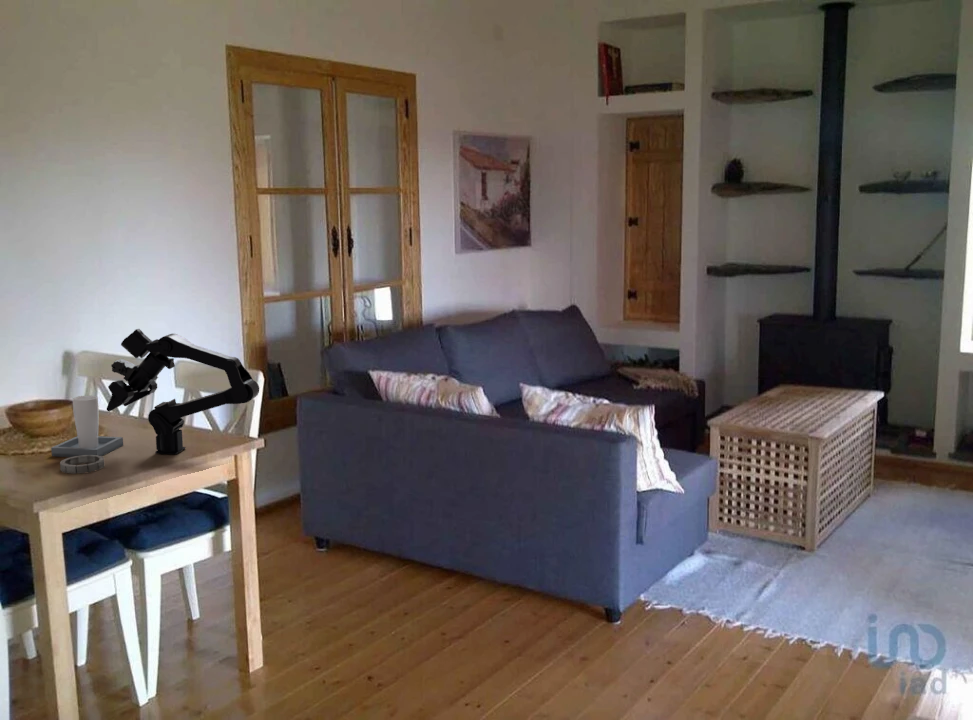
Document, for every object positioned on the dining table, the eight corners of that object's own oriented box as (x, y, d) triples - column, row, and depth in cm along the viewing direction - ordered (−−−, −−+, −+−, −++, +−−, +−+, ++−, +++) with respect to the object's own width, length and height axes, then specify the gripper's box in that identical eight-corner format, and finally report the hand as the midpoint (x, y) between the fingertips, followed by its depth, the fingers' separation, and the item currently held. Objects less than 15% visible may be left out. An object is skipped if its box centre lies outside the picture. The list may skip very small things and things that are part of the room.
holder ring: (112, 462, 263) (111, 455, 263) (90, 474, 253) (89, 467, 252) (75, 461, 265) (75, 454, 265) (52, 472, 254) (51, 465, 254)
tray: (123, 445, 281) (122, 437, 281) (97, 458, 268) (96, 449, 267) (79, 443, 283) (79, 435, 283) (51, 456, 270) (51, 447, 269)
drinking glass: (76, 446, 277) (73, 396, 275) (101, 444, 279) (98, 394, 277) (75, 452, 271) (71, 400, 268) (100, 450, 273) (97, 399, 271)
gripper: (144, 346, 280) (112, 384, 283) (112, 353, 262) (78, 393, 264) (171, 372, 280) (139, 409, 283) (141, 381, 262) (107, 420, 264)
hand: (116, 407), depth 273 cm, fingers open, 9 cm apart
